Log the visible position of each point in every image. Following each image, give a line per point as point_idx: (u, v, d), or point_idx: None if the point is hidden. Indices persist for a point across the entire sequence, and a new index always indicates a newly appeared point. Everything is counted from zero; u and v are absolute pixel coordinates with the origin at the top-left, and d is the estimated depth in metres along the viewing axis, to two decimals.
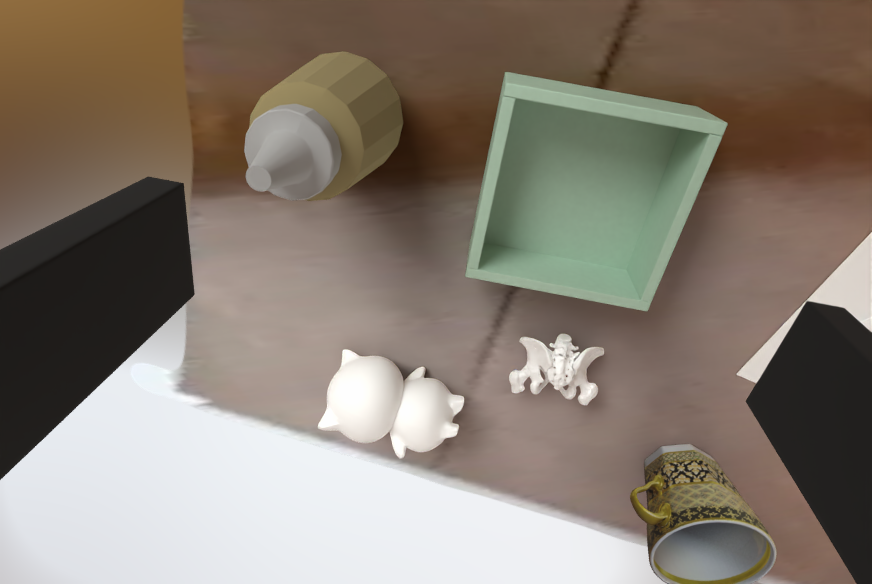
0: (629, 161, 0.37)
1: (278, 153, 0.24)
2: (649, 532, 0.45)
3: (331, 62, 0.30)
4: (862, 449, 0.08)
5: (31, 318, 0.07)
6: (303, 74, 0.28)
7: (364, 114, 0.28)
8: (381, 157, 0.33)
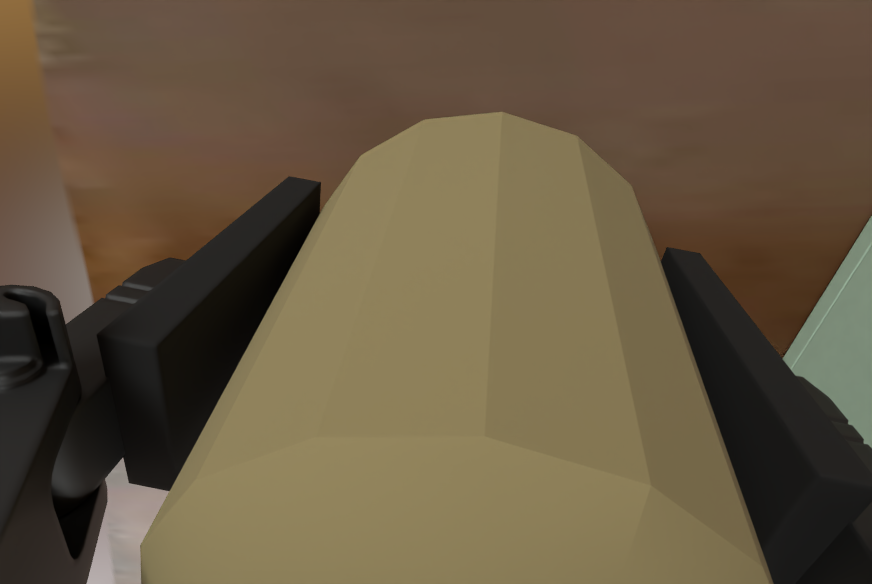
0: None
1: None
2: None
3: (505, 177, 0.08)
4: None
5: (243, 297, 0.09)
6: (432, 293, 0.05)
7: (738, 486, 0.06)
8: None
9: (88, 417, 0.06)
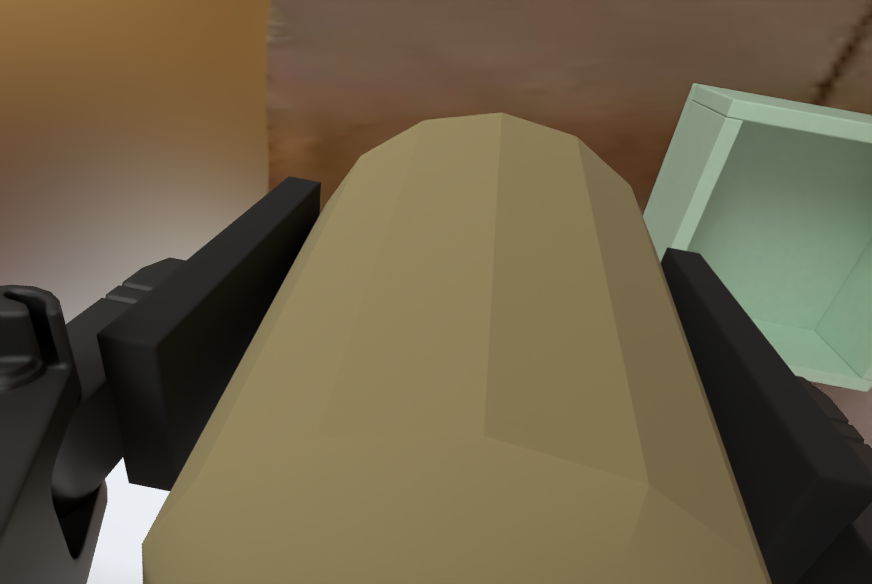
0: (844, 198, 0.29)
1: None
2: None
3: (505, 178, 0.08)
4: None
5: (243, 297, 0.09)
6: (432, 293, 0.05)
7: (736, 485, 0.06)
8: None
9: (88, 417, 0.06)
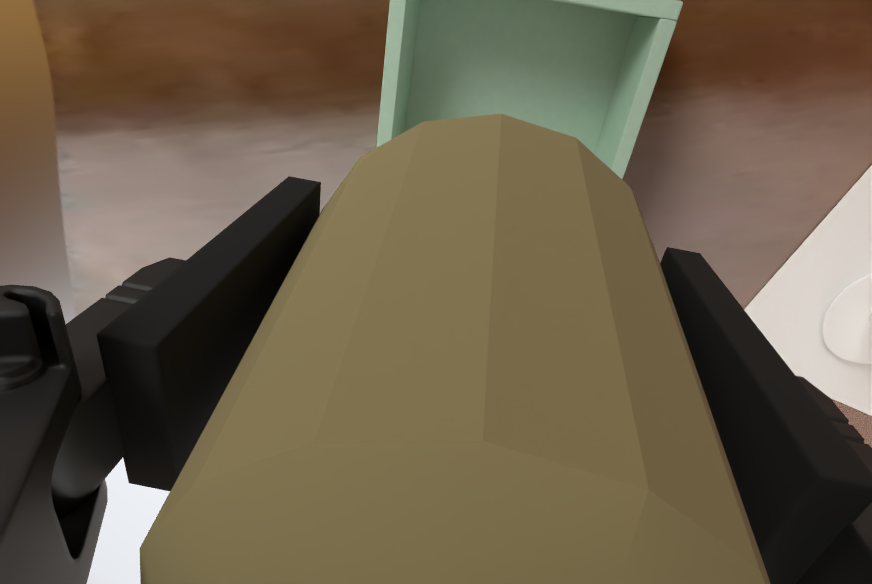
0: (571, 75, 0.30)
1: None
2: None
3: (504, 180, 0.08)
4: None
5: (243, 297, 0.09)
6: (431, 296, 0.05)
7: (736, 489, 0.06)
8: None
9: (88, 417, 0.06)
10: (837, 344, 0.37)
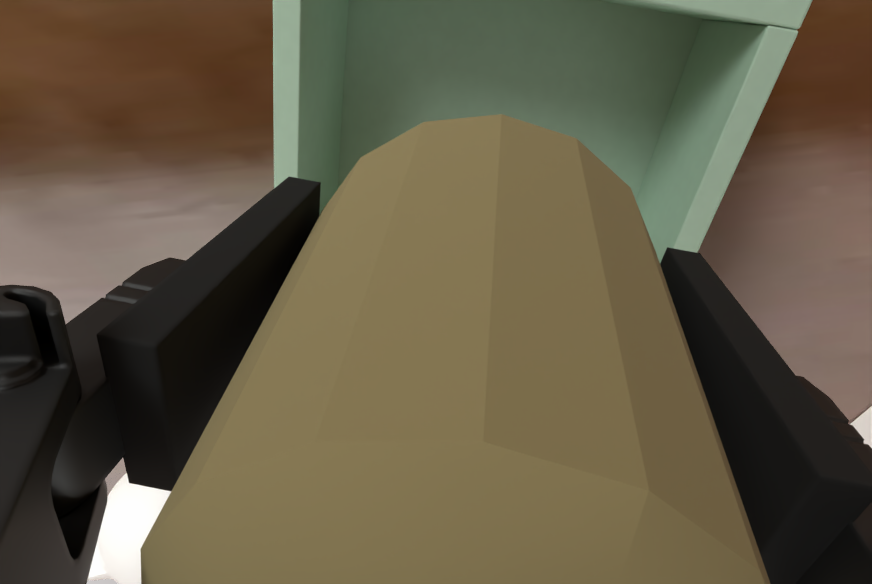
0: (591, 113, 0.19)
1: None
2: None
3: (505, 180, 0.08)
4: None
5: (243, 297, 0.09)
6: (432, 297, 0.05)
7: (736, 489, 0.06)
8: None
9: (88, 417, 0.06)
10: None
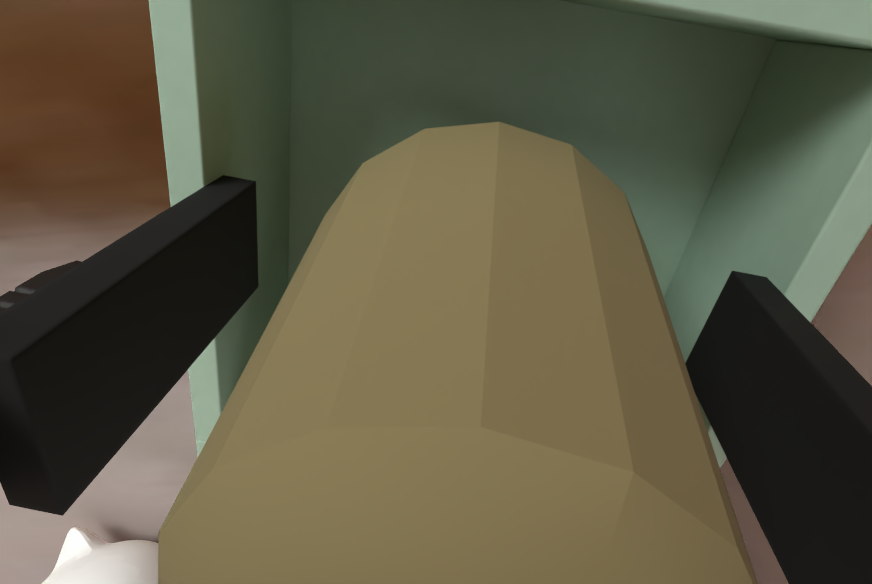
0: (620, 163, 0.14)
1: None
2: None
3: (502, 186, 0.08)
4: (767, 400, 0.09)
5: (146, 303, 0.08)
6: (432, 296, 0.06)
7: (721, 478, 0.06)
8: None
9: None
10: None
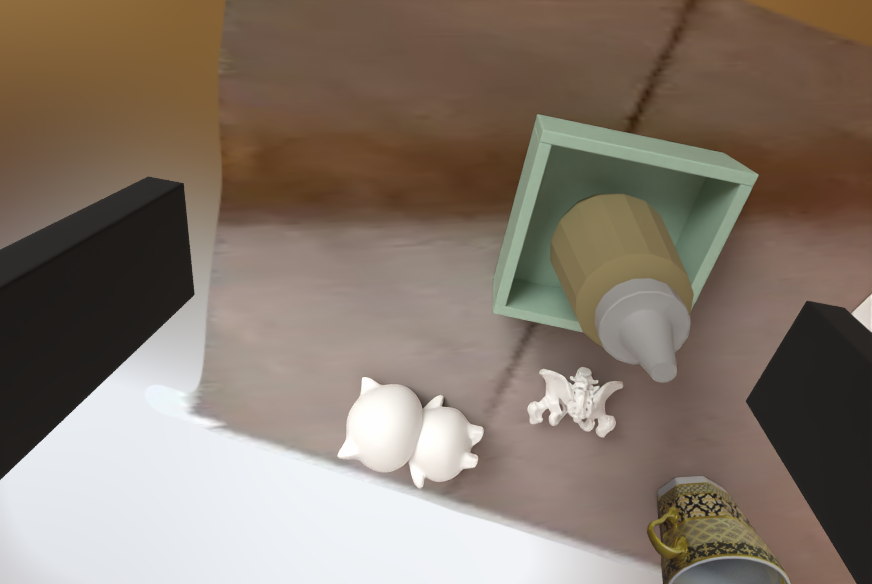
0: (655, 203, 0.38)
1: (669, 342, 0.25)
2: (665, 565, 0.46)
3: (634, 215, 0.32)
4: (862, 449, 0.08)
5: (31, 318, 0.07)
6: (632, 238, 0.29)
7: None
8: None
9: None
10: None
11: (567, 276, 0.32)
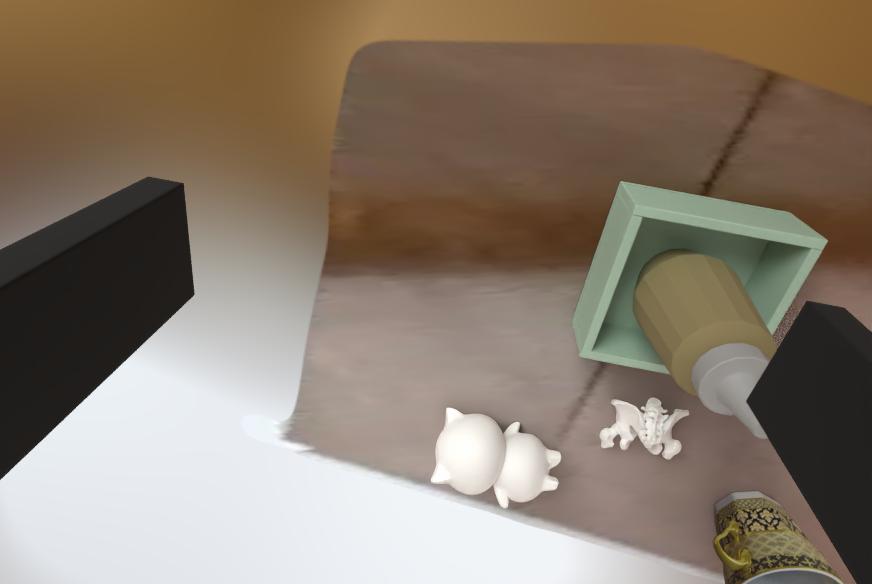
0: (725, 256, 0.42)
1: None
2: (729, 575, 0.50)
3: (718, 278, 0.36)
4: (862, 449, 0.08)
5: (31, 318, 0.07)
6: (721, 303, 0.34)
7: None
8: None
9: None
10: None
11: (659, 333, 0.36)
